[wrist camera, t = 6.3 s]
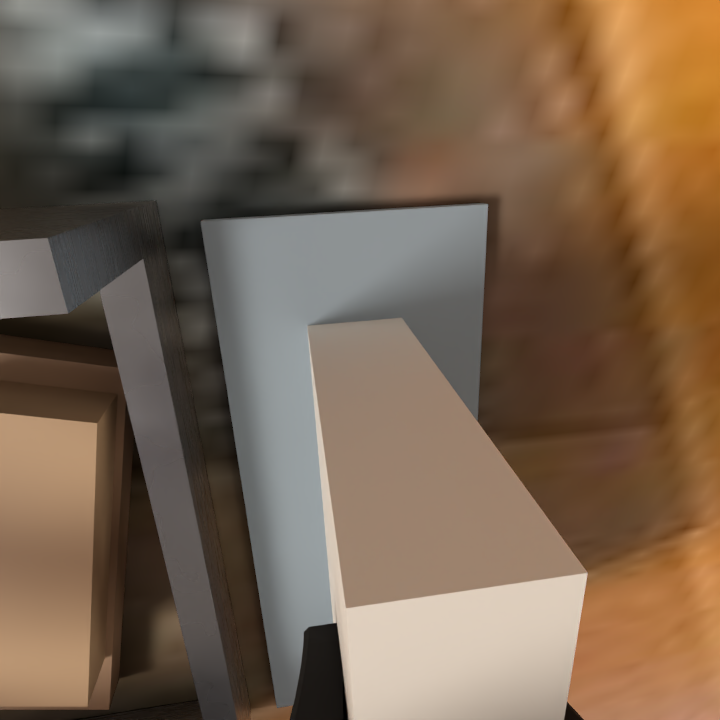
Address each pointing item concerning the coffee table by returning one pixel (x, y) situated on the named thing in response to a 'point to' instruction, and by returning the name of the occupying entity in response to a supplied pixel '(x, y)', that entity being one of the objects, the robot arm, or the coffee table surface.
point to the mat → (293, 369)
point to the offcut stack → (62, 524)
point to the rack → (141, 410)
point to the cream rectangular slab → (433, 544)
